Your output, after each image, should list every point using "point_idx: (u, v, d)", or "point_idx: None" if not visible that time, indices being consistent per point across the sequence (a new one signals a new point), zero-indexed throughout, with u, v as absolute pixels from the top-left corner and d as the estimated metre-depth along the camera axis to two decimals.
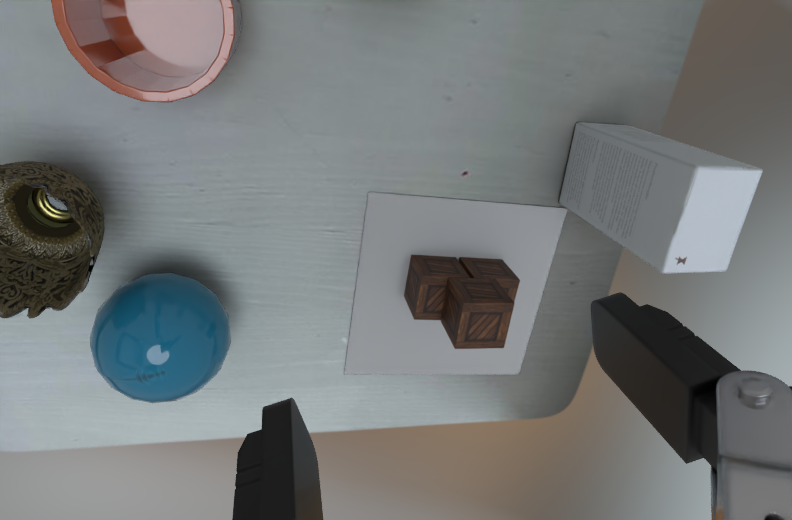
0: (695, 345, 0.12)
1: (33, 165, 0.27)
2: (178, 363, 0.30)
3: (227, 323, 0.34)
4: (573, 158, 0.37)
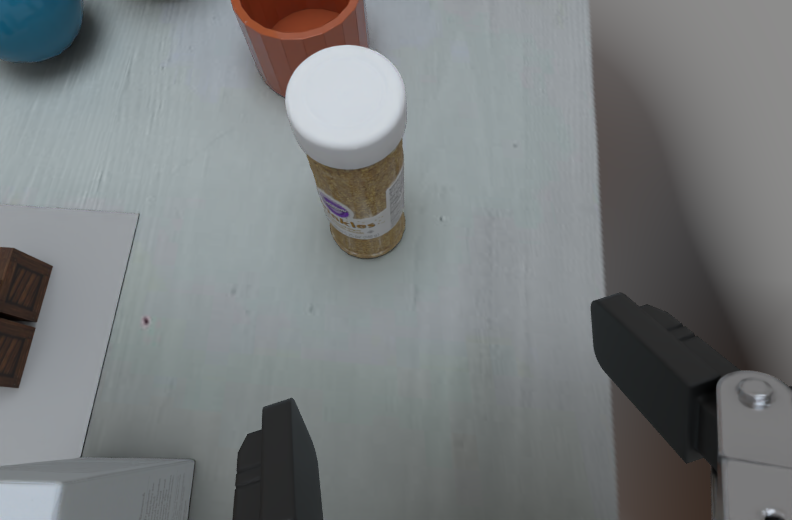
0: (695, 345, 0.12)
1: None
2: None
3: (7, 43, 0.32)
4: (145, 458, 0.28)
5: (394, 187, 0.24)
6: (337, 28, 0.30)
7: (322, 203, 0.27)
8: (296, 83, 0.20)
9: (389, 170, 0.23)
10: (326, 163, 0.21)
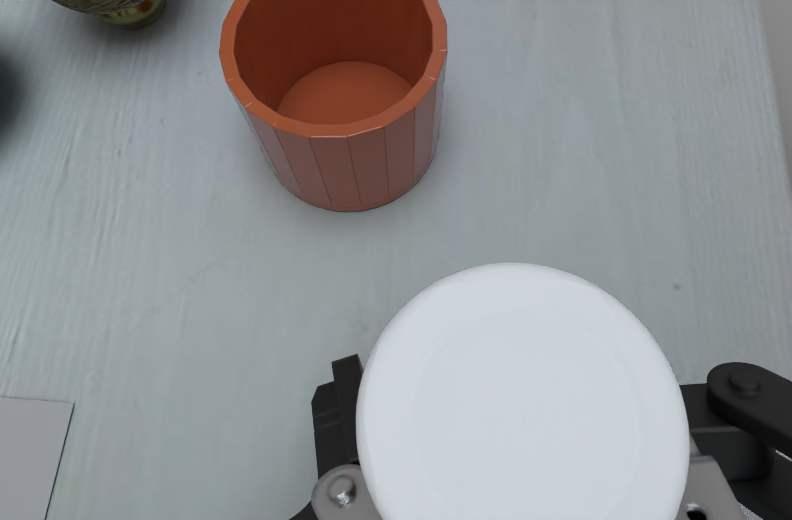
0: None
1: None
2: None
3: None
4: None
5: None
6: (406, 116, 0.17)
7: None
8: (387, 388, 0.07)
9: None
10: None
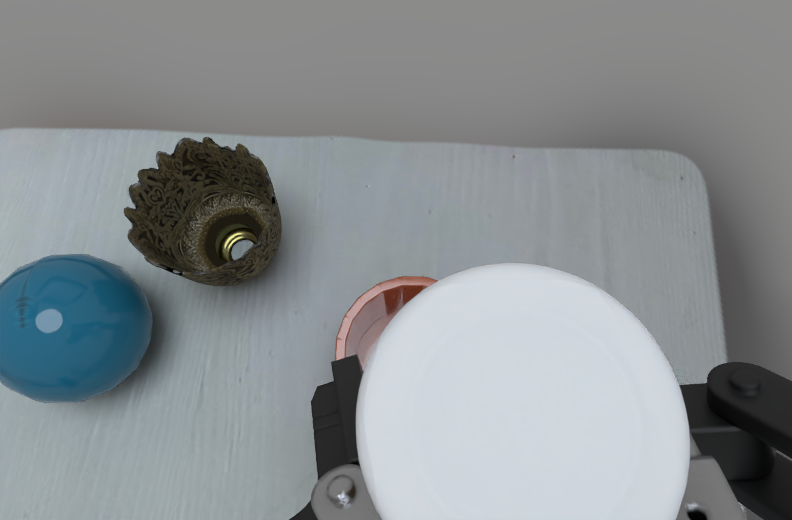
0: None
1: (278, 237, 0.30)
2: (30, 343, 0.25)
3: (72, 400, 0.28)
4: None
5: None
6: None
7: None
8: (387, 388, 0.07)
9: None
10: None
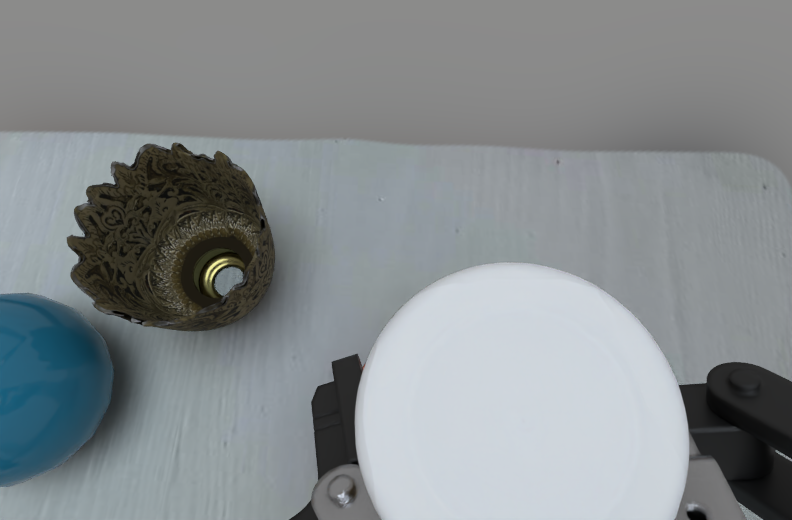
0: None
1: (270, 269, 0.23)
2: None
3: (4, 486, 0.21)
4: None
5: None
6: None
7: None
8: (386, 387, 0.07)
9: None
10: None
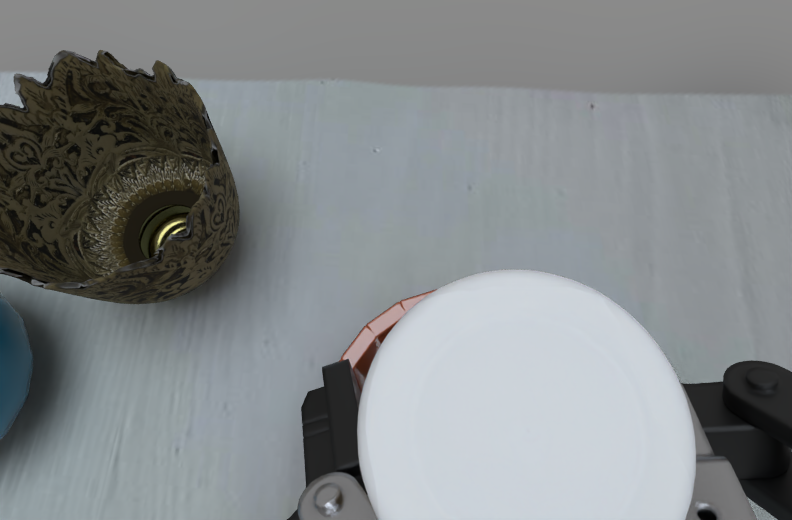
0: None
1: (230, 223, 0.18)
2: None
3: None
4: None
5: None
6: None
7: None
8: (389, 397, 0.07)
9: None
10: None
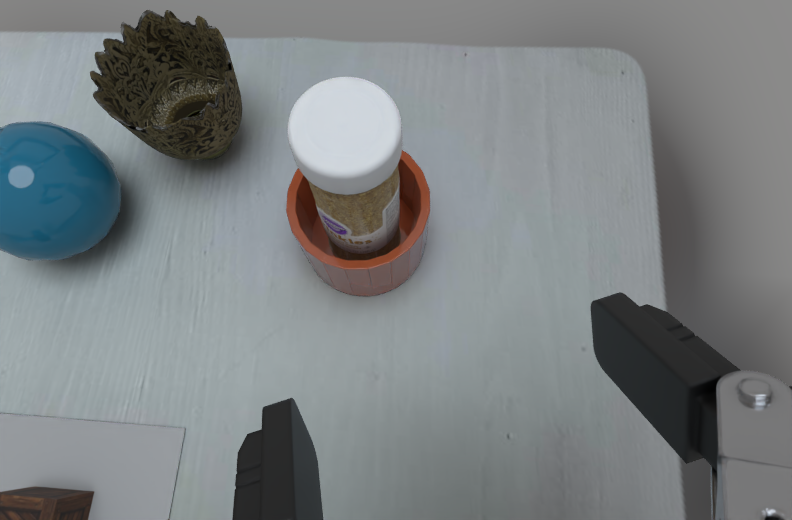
0: (695, 345, 0.12)
1: (237, 110, 0.32)
2: (2, 188, 0.27)
3: (44, 254, 0.30)
4: None
5: (390, 207, 0.26)
6: (404, 254, 0.28)
7: (321, 220, 0.28)
8: (297, 113, 0.21)
9: (386, 193, 0.24)
10: (326, 189, 0.22)
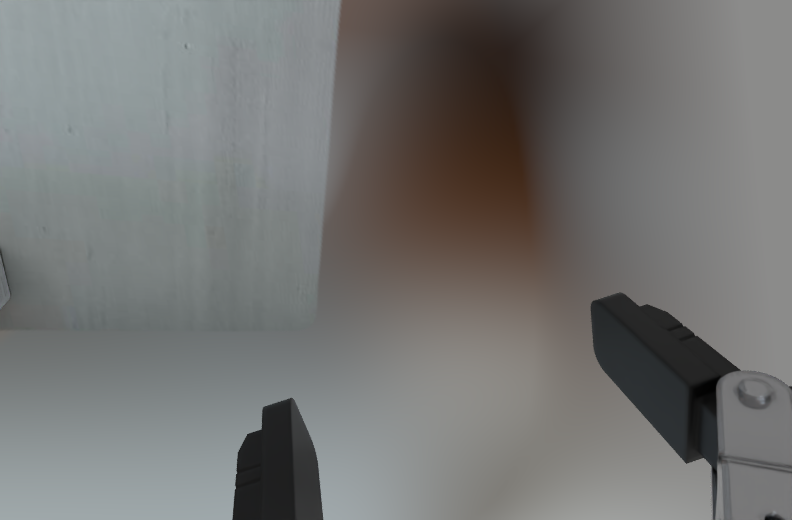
0: (695, 345, 0.12)
1: None
2: None
3: None
4: None
5: None
6: None
7: None
8: None
9: None
10: None
